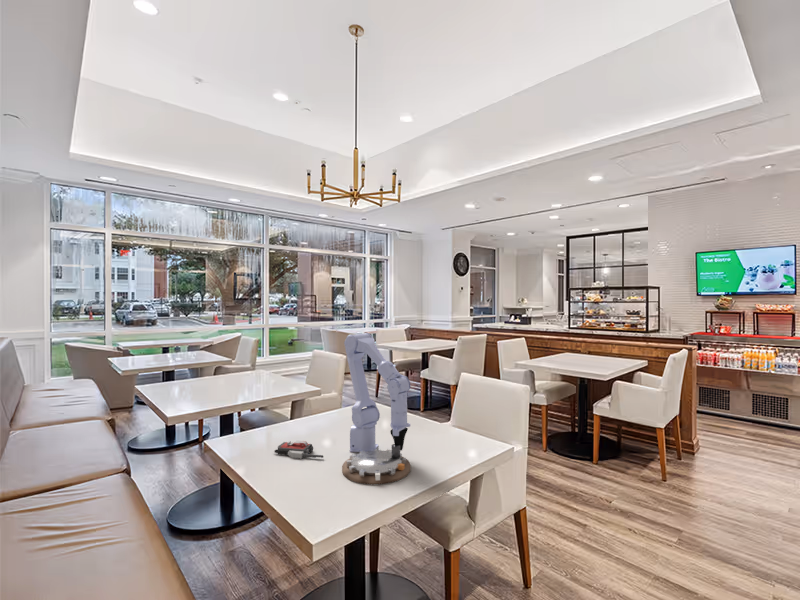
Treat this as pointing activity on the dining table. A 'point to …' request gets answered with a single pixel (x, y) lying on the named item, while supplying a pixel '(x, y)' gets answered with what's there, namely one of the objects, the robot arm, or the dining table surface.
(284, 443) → the walkie-talkie
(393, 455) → the sprocket
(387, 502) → the dining table surface
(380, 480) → the sprocket base
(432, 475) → the dining table surface
